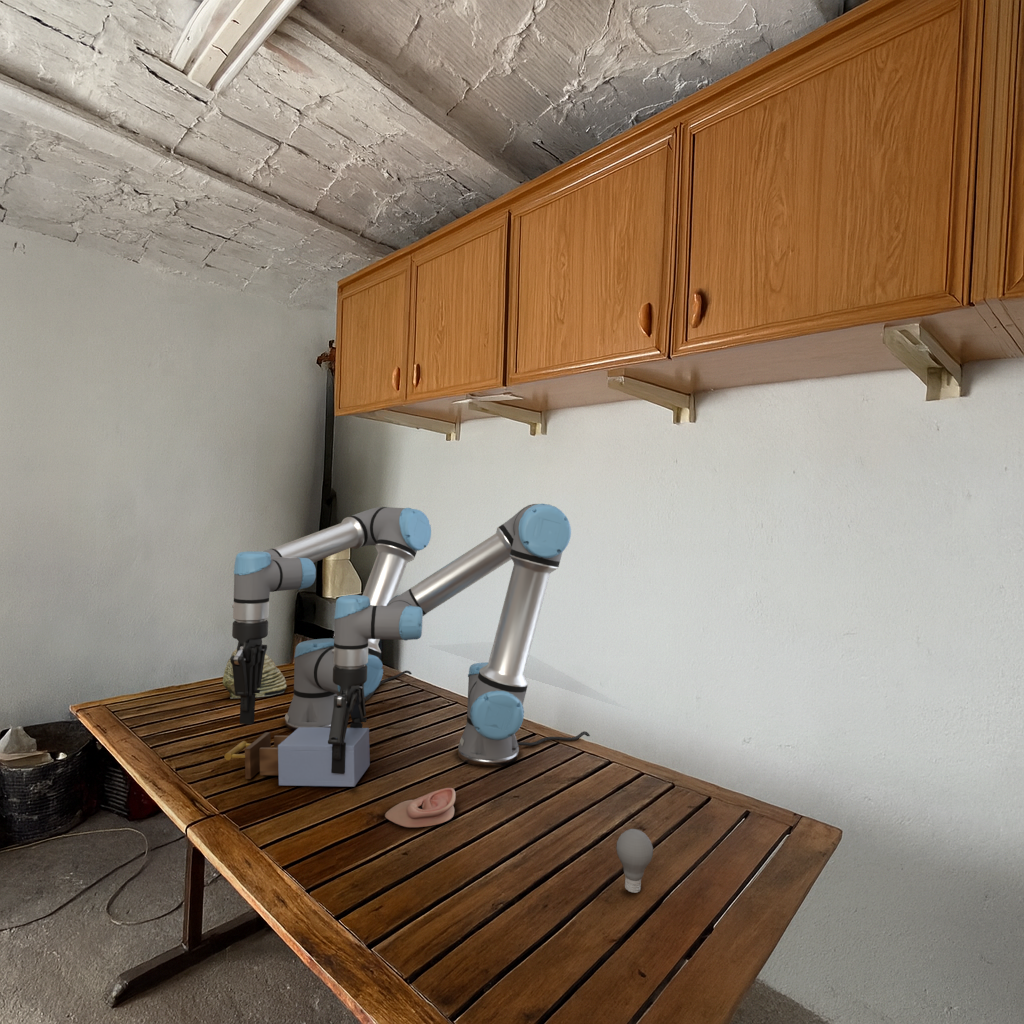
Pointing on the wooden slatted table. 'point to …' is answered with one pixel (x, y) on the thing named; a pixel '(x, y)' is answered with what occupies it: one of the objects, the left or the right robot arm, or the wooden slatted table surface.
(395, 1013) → the wooden slatted table surface
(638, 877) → the light bulb
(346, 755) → the cabinet
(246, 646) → the left robot arm
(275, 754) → the drawer
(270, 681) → the fossil
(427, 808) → the anatomical model
